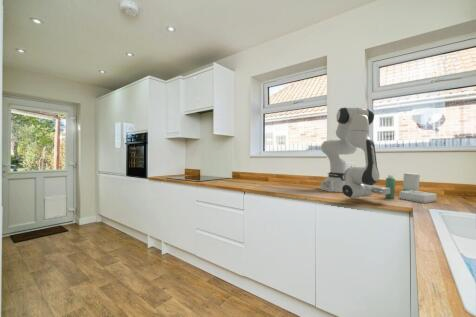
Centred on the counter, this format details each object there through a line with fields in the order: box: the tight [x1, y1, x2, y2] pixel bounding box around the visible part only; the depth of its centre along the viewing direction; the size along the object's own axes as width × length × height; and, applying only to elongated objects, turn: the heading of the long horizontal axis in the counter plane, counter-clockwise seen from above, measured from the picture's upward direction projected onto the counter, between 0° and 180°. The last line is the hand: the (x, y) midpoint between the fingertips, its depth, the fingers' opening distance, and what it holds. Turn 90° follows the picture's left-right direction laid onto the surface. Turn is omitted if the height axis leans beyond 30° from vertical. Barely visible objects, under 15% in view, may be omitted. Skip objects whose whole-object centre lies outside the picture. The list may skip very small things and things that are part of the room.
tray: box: [398, 190, 438, 204], centre depth 146 cm, size 14×14×4 cm
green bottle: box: [384, 174, 396, 200], centre depth 149 cm, size 5×5×15 cm
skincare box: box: [402, 172, 421, 191], centre depth 161 cm, size 8×7×16 cm
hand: (379, 187), depth 144 cm, fingers open, 8 cm apart
